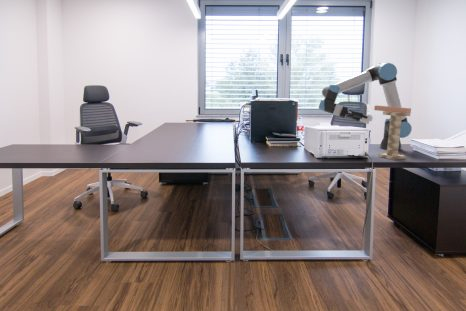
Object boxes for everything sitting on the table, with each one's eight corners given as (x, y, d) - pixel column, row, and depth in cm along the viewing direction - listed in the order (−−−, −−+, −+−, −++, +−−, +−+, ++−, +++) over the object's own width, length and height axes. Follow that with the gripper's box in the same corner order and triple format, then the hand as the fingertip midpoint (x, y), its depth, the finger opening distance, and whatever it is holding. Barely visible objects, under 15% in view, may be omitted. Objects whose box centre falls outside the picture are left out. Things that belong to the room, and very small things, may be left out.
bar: (374, 110, 284) (374, 105, 283) (377, 110, 286) (378, 105, 285) (407, 113, 265) (407, 108, 264) (410, 113, 267) (411, 108, 266)
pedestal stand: (378, 156, 279) (383, 111, 274) (389, 155, 286) (393, 111, 281) (394, 159, 270) (399, 113, 264) (405, 158, 277) (410, 112, 271)
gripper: (337, 118, 308) (366, 128, 304) (340, 113, 283) (371, 123, 280) (341, 108, 308) (369, 118, 304) (344, 102, 283) (375, 113, 280)
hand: (370, 121), depth 292 cm, fingers open, 13 cm apart
